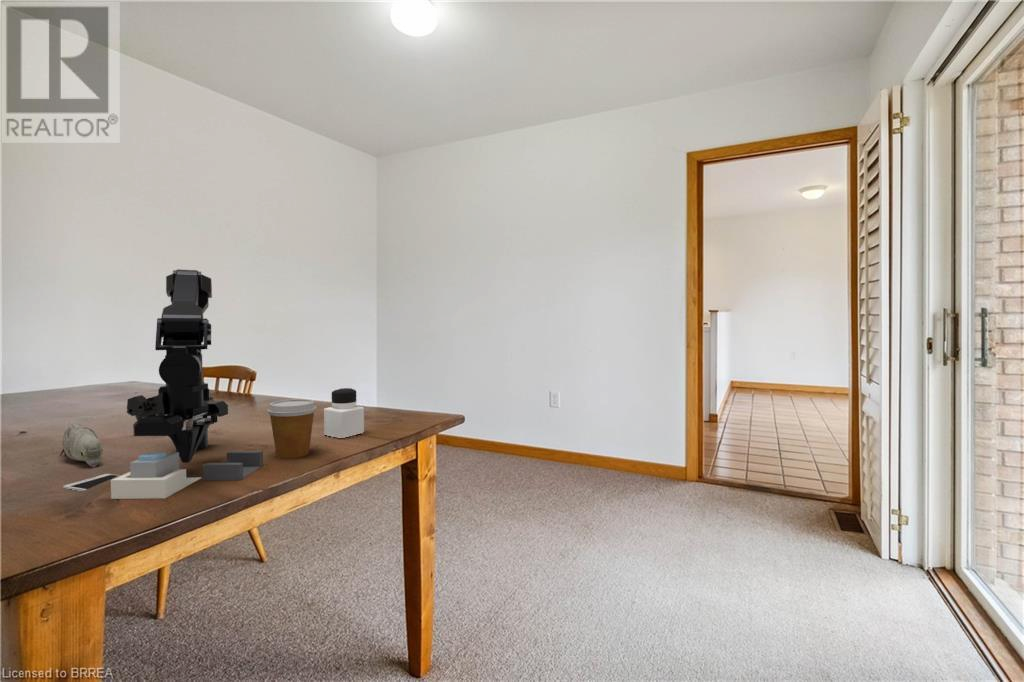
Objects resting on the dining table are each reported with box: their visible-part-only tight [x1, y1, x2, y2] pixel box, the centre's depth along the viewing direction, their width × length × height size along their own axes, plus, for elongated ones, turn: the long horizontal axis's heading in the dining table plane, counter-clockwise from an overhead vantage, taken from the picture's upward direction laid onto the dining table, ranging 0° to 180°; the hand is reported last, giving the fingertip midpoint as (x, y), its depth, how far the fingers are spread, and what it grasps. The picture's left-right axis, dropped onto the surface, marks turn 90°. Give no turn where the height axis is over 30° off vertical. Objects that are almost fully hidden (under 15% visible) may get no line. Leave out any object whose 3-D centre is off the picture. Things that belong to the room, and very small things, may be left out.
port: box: [110, 468, 203, 500], centre depth 82 cm, size 10×8×4 cm
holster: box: [202, 450, 264, 481], centre depth 90 cm, size 9×6×4 cm
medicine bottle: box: [323, 387, 365, 439], centre depth 123 cm, size 7×7×12 cm
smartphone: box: [62, 473, 121, 492], centre depth 84 cm, size 7×15×1 cm, turn 73°
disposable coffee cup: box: [267, 398, 317, 459], centre depth 102 cm, size 10×10×12 cm
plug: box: [129, 451, 180, 478], centre depth 81 cm, size 6×4×6 cm, turn 3°
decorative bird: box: [58, 420, 104, 469], centre depth 99 cm, size 5×16×7 cm, turn 54°
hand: (186, 462), depth 89 cm, fingers closed
